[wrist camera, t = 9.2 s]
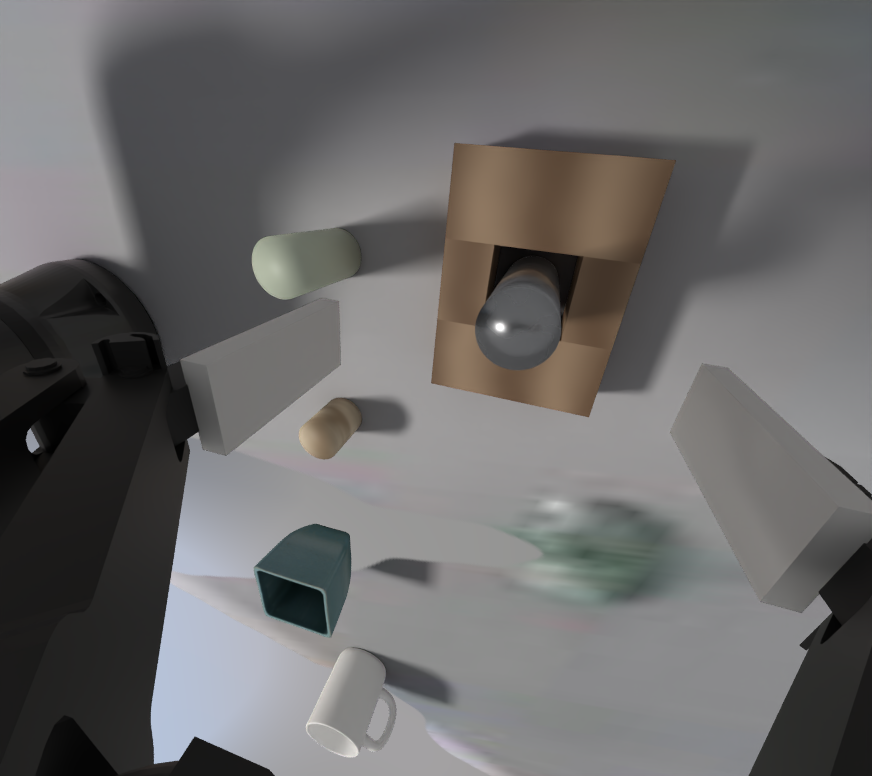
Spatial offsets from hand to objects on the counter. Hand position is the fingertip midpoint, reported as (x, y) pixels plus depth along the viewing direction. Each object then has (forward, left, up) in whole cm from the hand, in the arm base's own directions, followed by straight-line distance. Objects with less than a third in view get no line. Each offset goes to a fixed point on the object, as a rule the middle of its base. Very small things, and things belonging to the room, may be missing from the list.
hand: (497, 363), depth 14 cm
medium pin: (-16, 0, -16) cm, 23 cm away
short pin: (-16, -16, -16) cm, 28 cm away
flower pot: (-18, -36, -17) cm, 43 cm away
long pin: (0, 0, -16) cm, 16 cm away
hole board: (0, 0, -16) cm, 16 cm away
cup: (-12, -64, -17) cm, 67 cm away
